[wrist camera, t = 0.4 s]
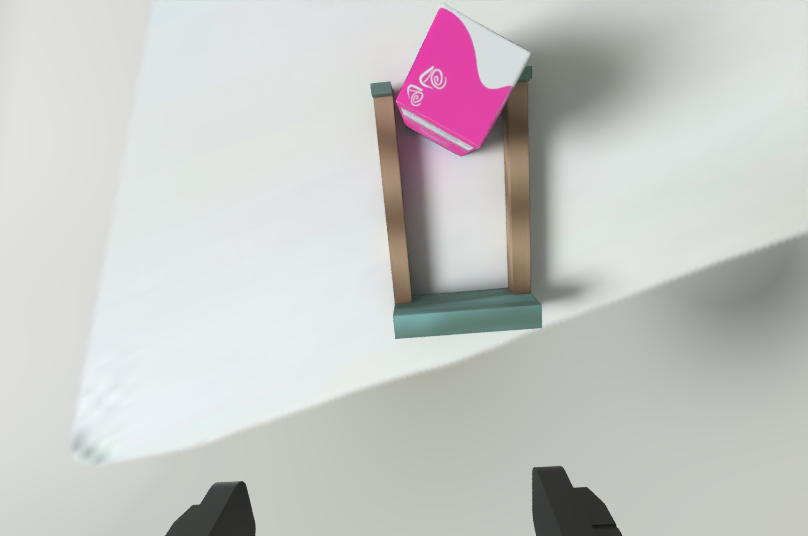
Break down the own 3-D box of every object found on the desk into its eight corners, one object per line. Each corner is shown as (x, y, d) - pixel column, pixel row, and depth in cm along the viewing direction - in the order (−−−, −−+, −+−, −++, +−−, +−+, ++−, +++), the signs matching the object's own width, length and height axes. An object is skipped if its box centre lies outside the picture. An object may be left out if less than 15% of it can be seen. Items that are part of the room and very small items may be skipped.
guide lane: (374, 92, 32) (367, 77, 27) (520, 76, 31) (539, 59, 27) (398, 316, 37) (395, 338, 32) (524, 307, 36) (541, 327, 31)
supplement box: (434, 58, 31) (444, -4, 20) (497, 94, 32) (540, 53, 21) (401, 125, 33) (393, 101, 22) (462, 159, 33) (485, 152, 22)
